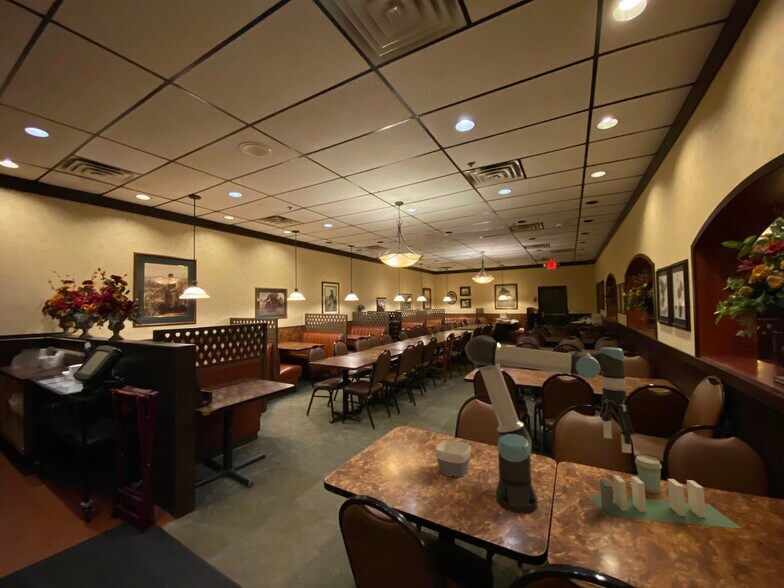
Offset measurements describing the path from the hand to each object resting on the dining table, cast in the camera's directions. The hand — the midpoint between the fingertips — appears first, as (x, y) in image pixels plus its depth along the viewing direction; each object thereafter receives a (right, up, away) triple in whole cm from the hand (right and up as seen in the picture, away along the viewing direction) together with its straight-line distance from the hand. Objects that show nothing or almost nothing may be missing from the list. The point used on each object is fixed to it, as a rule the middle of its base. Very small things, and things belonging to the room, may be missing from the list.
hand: (616, 444), depth 122 cm
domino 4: (+22, -20, -9) cm, 31 cm away
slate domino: (-8, -21, -7) cm, 23 cm away
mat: (+11, -21, -6) cm, 24 cm away
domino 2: (+5, -21, -5) cm, 22 cm away
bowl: (-57, -25, +27) cm, 68 cm away
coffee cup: (+19, -22, +7) cm, 30 cm away
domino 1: (-1, -21, -4) cm, 21 cm away
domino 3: (+16, -20, -8) cm, 27 cm away
